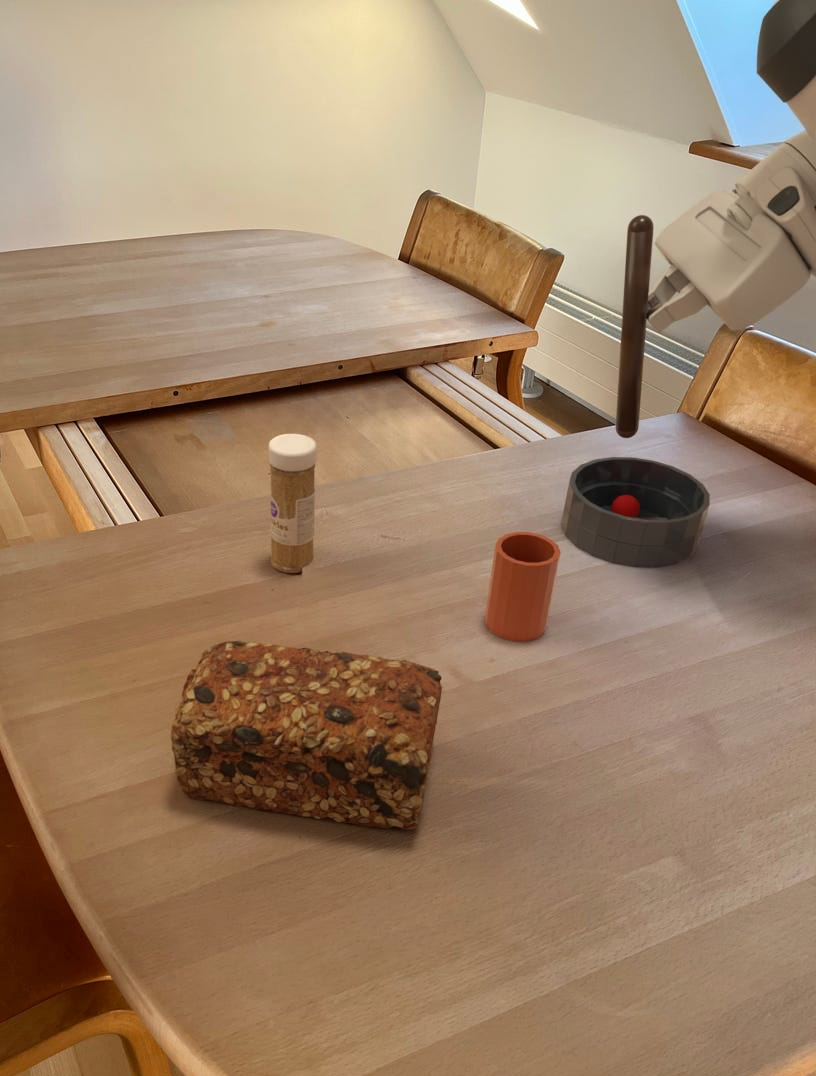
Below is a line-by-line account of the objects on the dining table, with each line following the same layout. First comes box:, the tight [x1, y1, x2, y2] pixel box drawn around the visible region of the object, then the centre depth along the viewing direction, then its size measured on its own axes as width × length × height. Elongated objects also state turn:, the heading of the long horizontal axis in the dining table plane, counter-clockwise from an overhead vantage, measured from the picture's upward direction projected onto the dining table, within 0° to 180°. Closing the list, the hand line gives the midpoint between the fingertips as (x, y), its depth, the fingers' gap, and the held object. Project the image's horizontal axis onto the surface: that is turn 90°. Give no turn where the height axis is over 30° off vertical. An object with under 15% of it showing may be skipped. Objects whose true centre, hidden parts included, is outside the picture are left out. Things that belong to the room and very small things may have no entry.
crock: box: [484, 531, 561, 643], centre depth 88 cm, size 6×6×9 cm
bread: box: [170, 639, 443, 830], centre depth 72 cm, size 19×11×10 cm, turn 78°
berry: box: [611, 495, 640, 518], centre depth 105 cm, size 3×3×3 cm
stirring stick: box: [615, 214, 655, 439], centre depth 91 cm, size 2×2×21 cm
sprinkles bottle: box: [267, 433, 318, 574], centre depth 95 cm, size 5×5×13 cm
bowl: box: [560, 456, 711, 569], centre depth 103 cm, size 14×14×6 cm
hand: (646, 319), depth 90 cm, fingers closed on stirring stick, 2 cm apart
